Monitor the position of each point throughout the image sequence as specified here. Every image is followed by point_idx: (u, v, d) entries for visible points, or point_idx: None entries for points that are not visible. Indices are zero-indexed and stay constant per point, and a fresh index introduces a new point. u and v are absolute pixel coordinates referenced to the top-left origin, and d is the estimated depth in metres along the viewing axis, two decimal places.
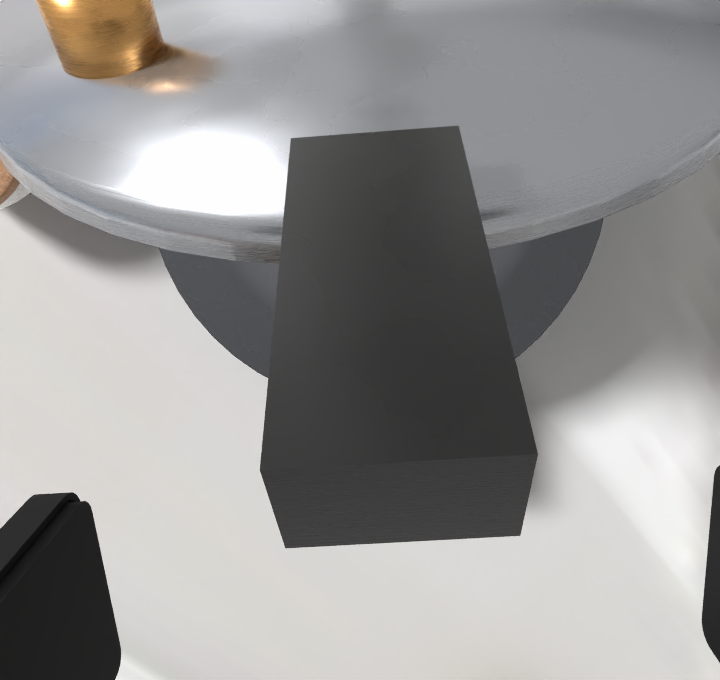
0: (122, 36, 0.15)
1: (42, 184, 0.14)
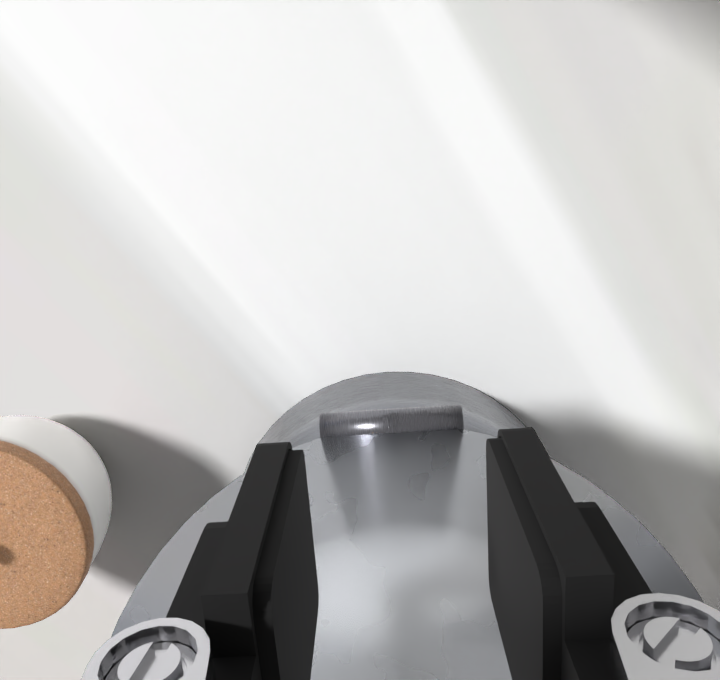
0: None
1: None
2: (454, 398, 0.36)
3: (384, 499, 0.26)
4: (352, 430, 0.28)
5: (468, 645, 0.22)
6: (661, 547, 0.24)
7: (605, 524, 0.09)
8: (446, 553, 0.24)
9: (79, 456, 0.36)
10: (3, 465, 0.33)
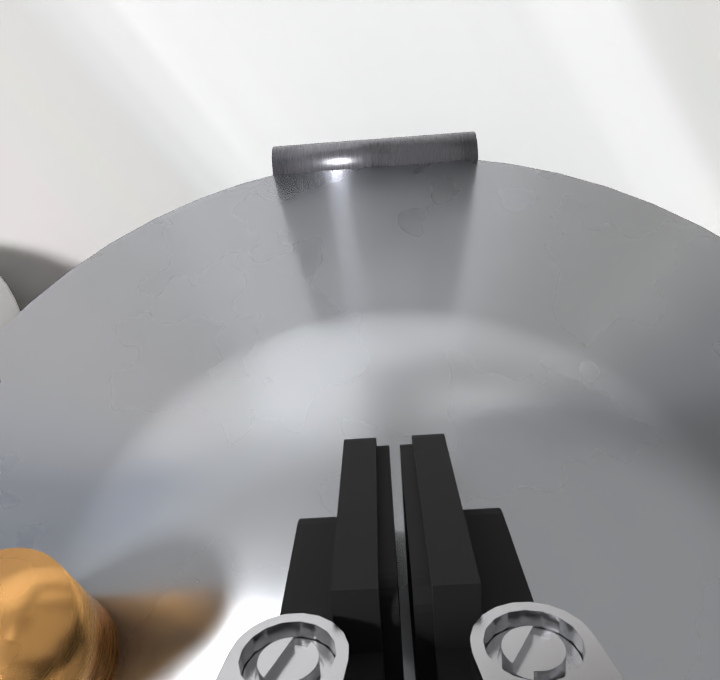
0: None
1: None
2: None
3: (362, 237, 0.18)
4: (319, 163, 0.20)
5: (489, 404, 0.14)
6: None
7: (504, 531, 0.09)
8: (454, 295, 0.16)
9: None
10: None
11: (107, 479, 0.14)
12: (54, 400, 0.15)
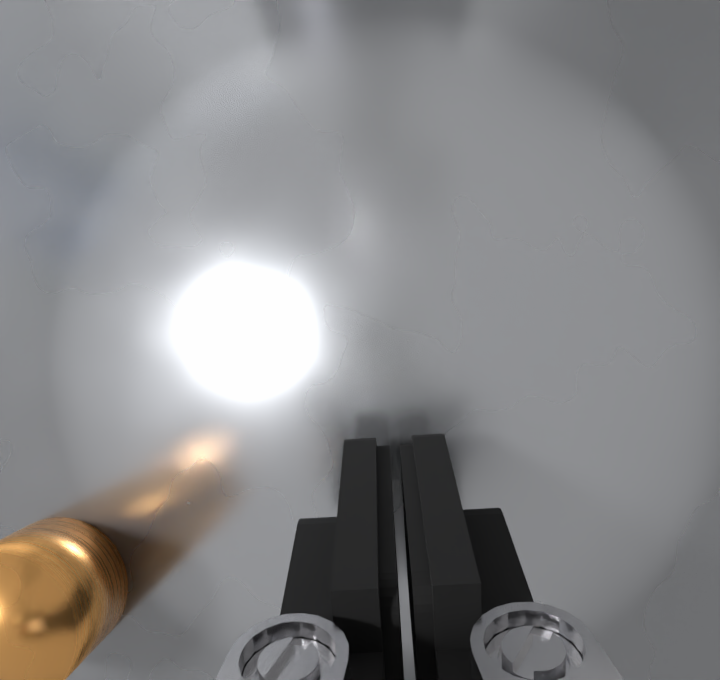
0: None
1: None
2: None
3: None
4: None
5: (503, 285, 0.12)
6: None
7: (504, 531, 0.09)
8: (470, 102, 0.12)
9: None
10: None
11: (62, 386, 0.12)
12: None
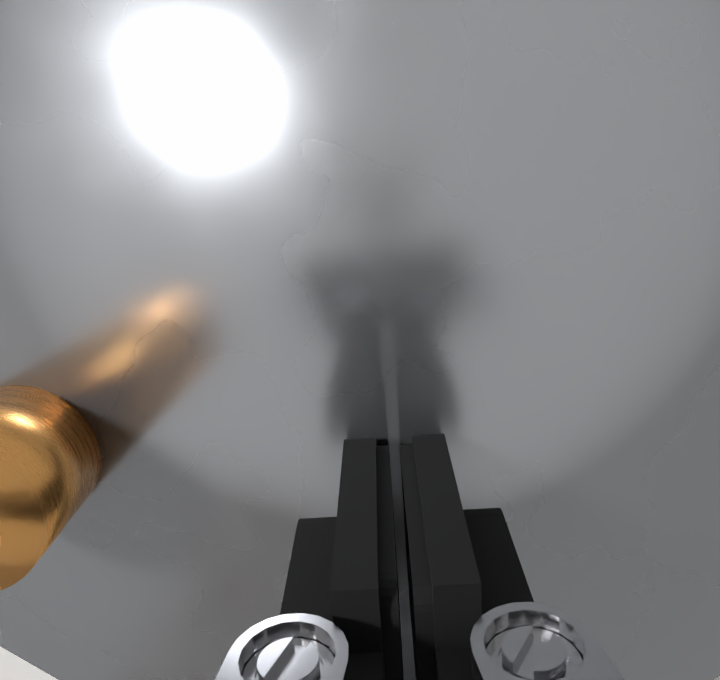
0: None
1: None
2: None
3: None
4: None
5: (520, 111, 0.09)
6: None
7: (504, 531, 0.09)
8: None
9: None
10: None
11: None
12: None
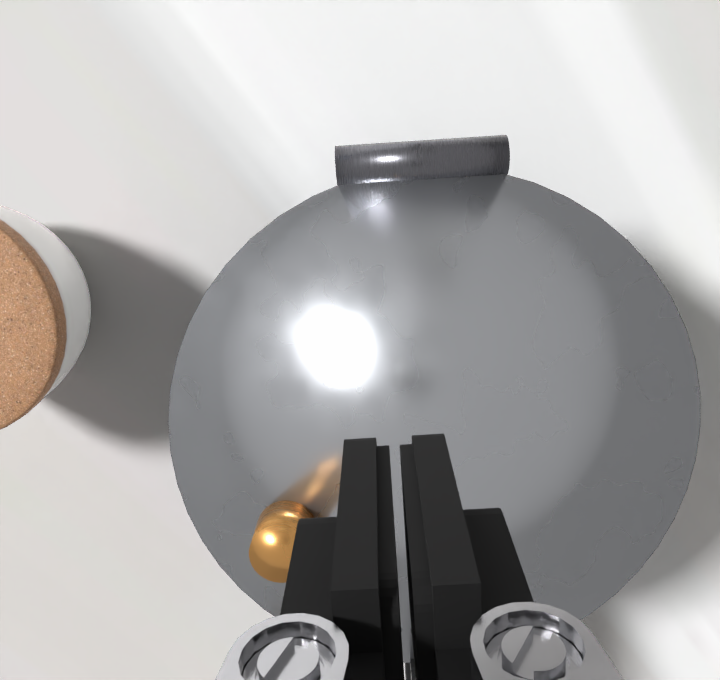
0: None
1: None
2: None
3: (413, 267, 0.25)
4: (376, 178, 0.24)
5: (484, 406, 0.26)
6: (679, 317, 0.25)
7: (504, 531, 0.09)
8: (473, 326, 0.25)
9: (52, 243, 0.31)
10: None
11: (285, 447, 0.26)
12: (238, 399, 0.26)
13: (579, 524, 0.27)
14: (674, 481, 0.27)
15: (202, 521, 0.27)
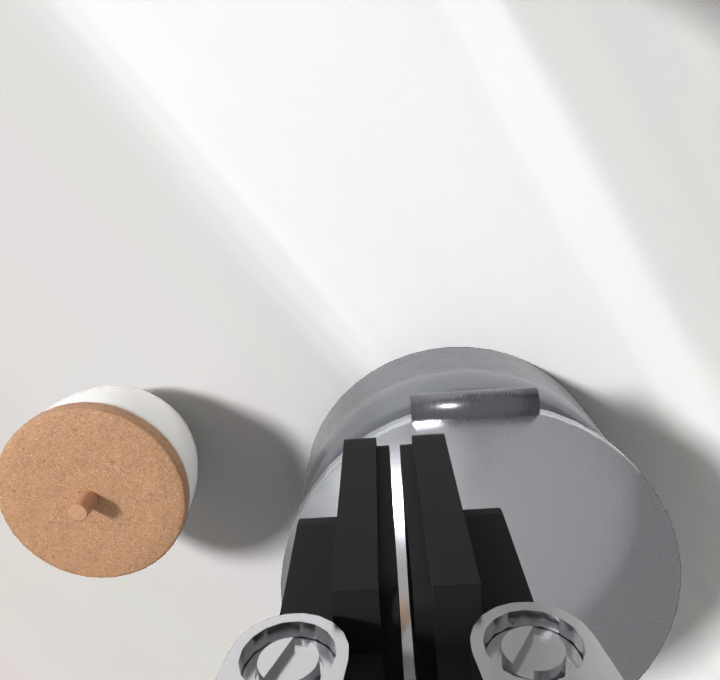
0: None
1: None
2: (514, 369, 0.40)
3: (466, 478, 0.33)
4: (440, 420, 0.32)
5: None
6: (665, 510, 0.34)
7: (504, 531, 0.09)
8: (511, 517, 0.34)
9: (173, 422, 0.40)
10: (114, 427, 0.36)
11: None
12: None
13: None
14: (661, 623, 0.35)
15: None
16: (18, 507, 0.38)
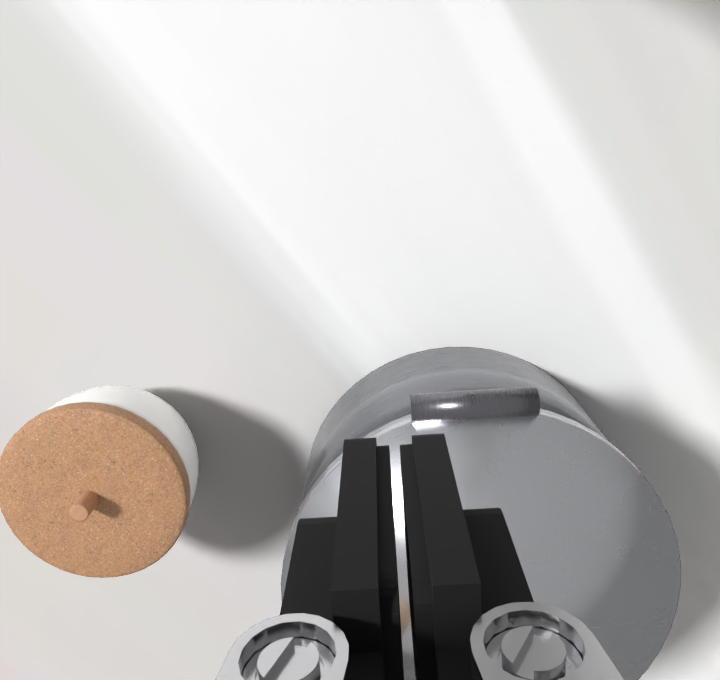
0: None
1: None
2: (514, 369, 0.40)
3: (467, 478, 0.33)
4: (440, 420, 0.32)
5: None
6: (665, 510, 0.34)
7: (504, 531, 0.09)
8: (511, 517, 0.34)
9: (174, 422, 0.40)
10: (115, 427, 0.36)
11: None
12: None
13: None
14: (661, 623, 0.35)
15: None
16: (18, 508, 0.38)
